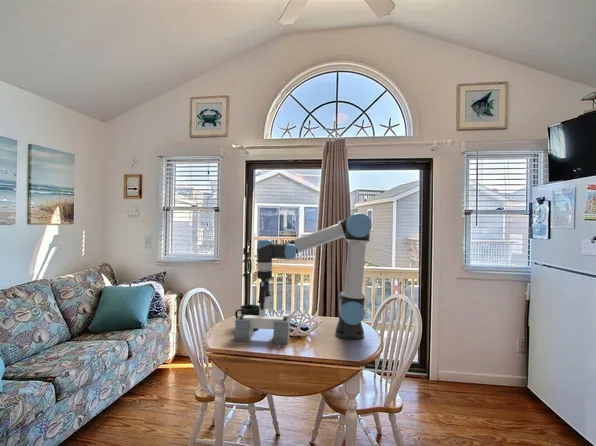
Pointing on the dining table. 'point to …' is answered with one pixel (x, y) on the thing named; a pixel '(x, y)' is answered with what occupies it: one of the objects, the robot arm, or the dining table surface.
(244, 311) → the mug
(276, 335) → the brackets
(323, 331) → the dining table surface
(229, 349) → the dining table surface
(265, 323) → the rail
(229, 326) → the dining table surface
